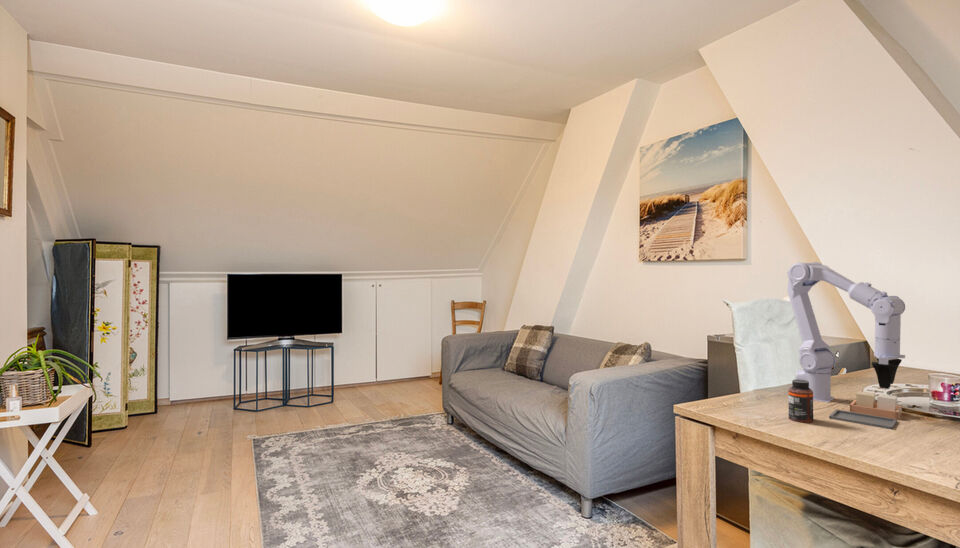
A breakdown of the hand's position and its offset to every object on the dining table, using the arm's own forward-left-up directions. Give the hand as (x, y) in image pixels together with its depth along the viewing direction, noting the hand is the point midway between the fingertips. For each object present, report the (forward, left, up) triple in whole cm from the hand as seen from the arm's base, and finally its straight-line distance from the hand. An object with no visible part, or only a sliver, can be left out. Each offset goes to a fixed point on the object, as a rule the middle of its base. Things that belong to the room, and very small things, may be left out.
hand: (886, 385), depth 149 cm
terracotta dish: (-2, 0, -9) cm, 9 cm away
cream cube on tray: (0, 0, -8) cm, 8 cm away
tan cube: (-5, 0, -8) cm, 9 cm away
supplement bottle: (-16, -22, -9) cm, 29 cm away
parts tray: (-4, -11, -9) cm, 15 cm away
